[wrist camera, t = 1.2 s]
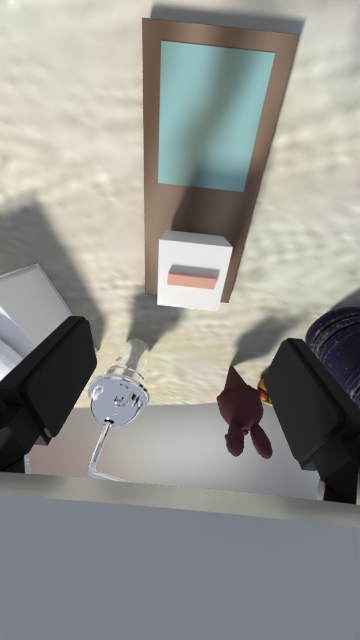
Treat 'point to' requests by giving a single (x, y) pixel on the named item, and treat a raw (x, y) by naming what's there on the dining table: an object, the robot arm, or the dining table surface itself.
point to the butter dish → (27, 313)
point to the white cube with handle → (192, 269)
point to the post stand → (207, 130)
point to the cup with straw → (119, 395)
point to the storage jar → (339, 347)
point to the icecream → (242, 415)
